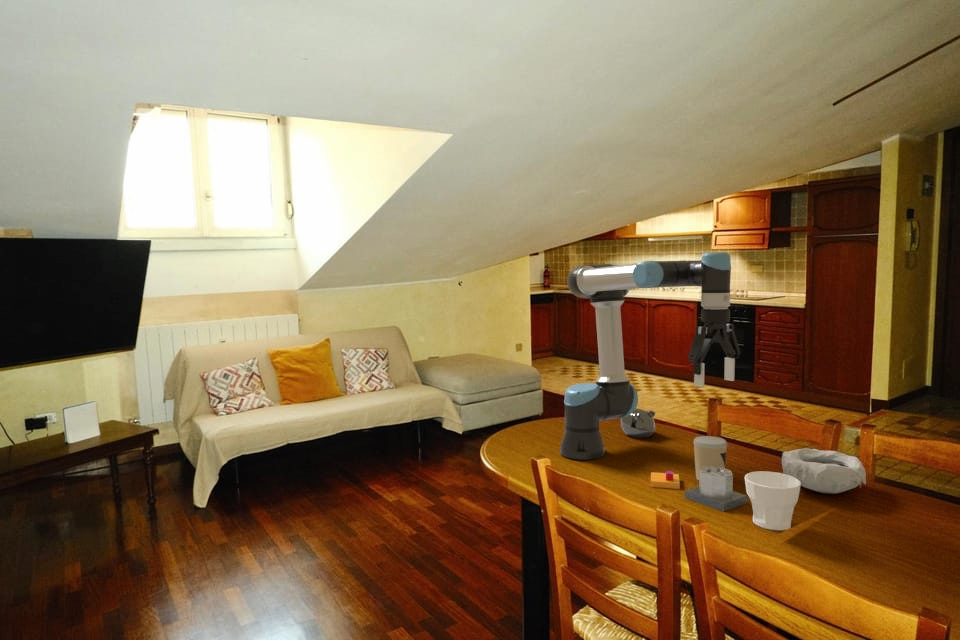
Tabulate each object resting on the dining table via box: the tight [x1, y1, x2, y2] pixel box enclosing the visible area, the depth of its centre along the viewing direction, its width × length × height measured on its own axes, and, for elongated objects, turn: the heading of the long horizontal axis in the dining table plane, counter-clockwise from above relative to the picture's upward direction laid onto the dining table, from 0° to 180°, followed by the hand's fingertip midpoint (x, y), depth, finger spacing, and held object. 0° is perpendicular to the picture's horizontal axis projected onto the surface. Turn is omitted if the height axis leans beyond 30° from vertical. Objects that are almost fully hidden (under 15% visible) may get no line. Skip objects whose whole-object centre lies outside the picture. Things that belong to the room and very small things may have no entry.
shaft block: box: [684, 472, 748, 513], centre depth 162 cm, size 12×10×8 cm
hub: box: [698, 466, 734, 499], centre depth 162 cm, size 8×8×6 cm
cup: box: [743, 470, 802, 531], centre depth 146 cm, size 12×12×11 cm
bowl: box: [781, 447, 867, 495], centre depth 167 cm, size 21×20×10 cm
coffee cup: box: [692, 435, 728, 481], centre depth 178 cm, size 9×9×12 cm
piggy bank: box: [620, 407, 656, 439], centre depth 221 cm, size 11×15×12 cm
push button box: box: [650, 471, 681, 490], centre depth 176 cm, size 8×8×4 cm
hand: (714, 383), depth 169 cm, fingers open, 13 cm apart
